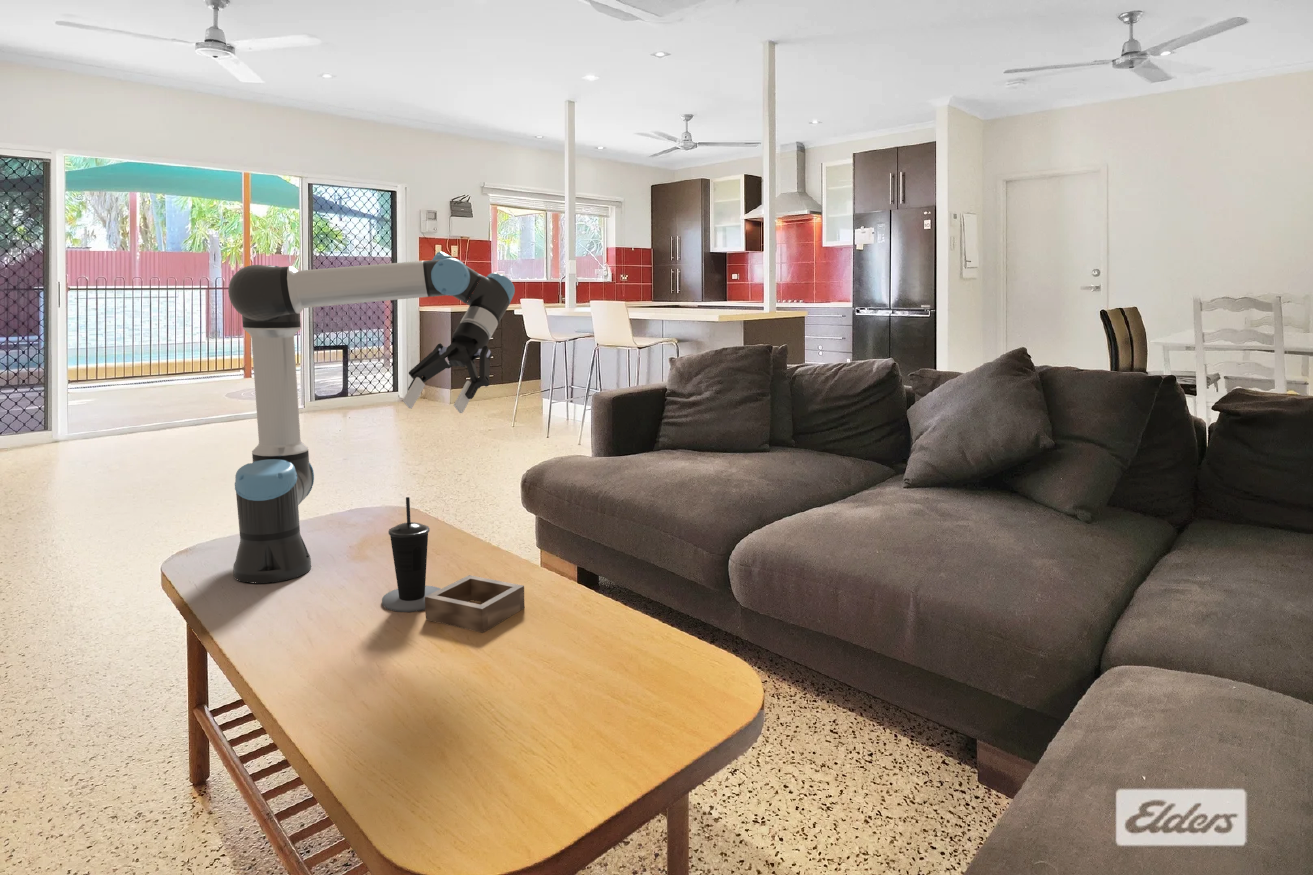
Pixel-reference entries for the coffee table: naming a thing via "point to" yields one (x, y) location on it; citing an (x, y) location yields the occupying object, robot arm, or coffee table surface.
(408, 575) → the drinking cup
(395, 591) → the coaster
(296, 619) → the coffee table surface
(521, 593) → the wooden square tray
